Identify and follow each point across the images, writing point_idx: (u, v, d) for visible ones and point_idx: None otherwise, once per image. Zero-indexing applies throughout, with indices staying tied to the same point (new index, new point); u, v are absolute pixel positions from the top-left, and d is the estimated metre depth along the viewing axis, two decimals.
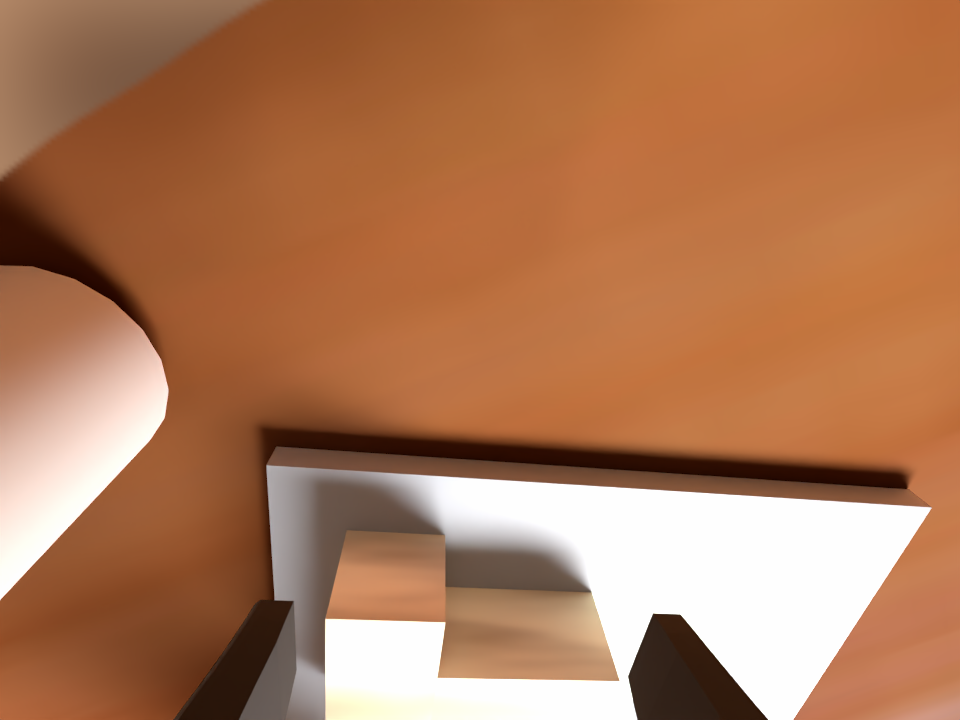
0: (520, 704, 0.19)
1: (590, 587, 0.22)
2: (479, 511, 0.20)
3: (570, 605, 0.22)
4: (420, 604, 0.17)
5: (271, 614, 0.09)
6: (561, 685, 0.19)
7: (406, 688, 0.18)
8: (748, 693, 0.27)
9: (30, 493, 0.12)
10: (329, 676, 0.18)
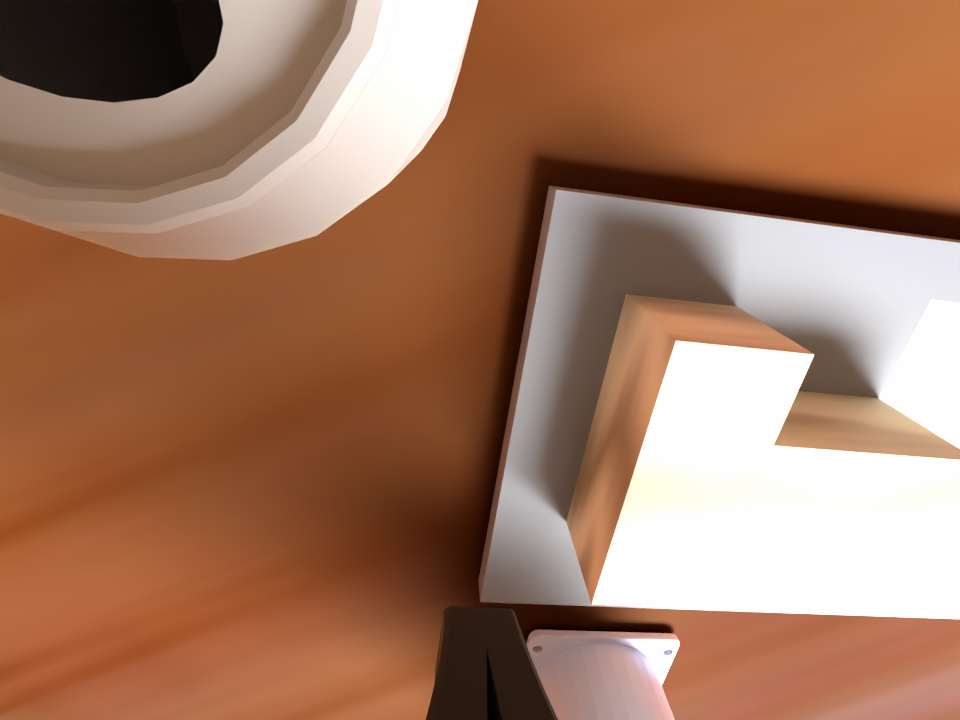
0: (852, 493, 0.16)
1: (878, 390, 0.19)
2: (784, 272, 0.17)
3: (865, 405, 0.18)
4: (770, 341, 0.14)
5: (468, 620, 0.09)
6: (911, 463, 0.15)
7: (732, 459, 0.15)
8: None
9: None
10: (650, 436, 0.14)
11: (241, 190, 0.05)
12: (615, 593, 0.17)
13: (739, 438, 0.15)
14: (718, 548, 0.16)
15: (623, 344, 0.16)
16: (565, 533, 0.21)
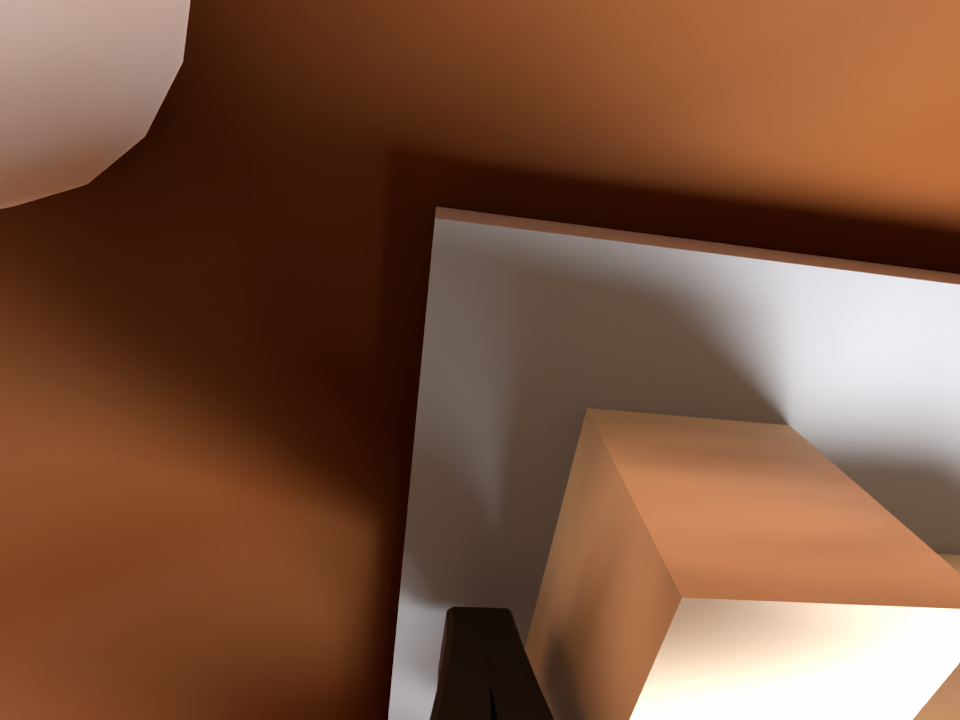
0: None
1: None
2: (877, 368, 0.09)
3: None
4: (888, 561, 0.06)
5: (470, 620, 0.09)
6: None
7: None
8: None
9: None
10: None
11: None
12: None
13: None
14: None
15: (581, 504, 0.09)
16: None
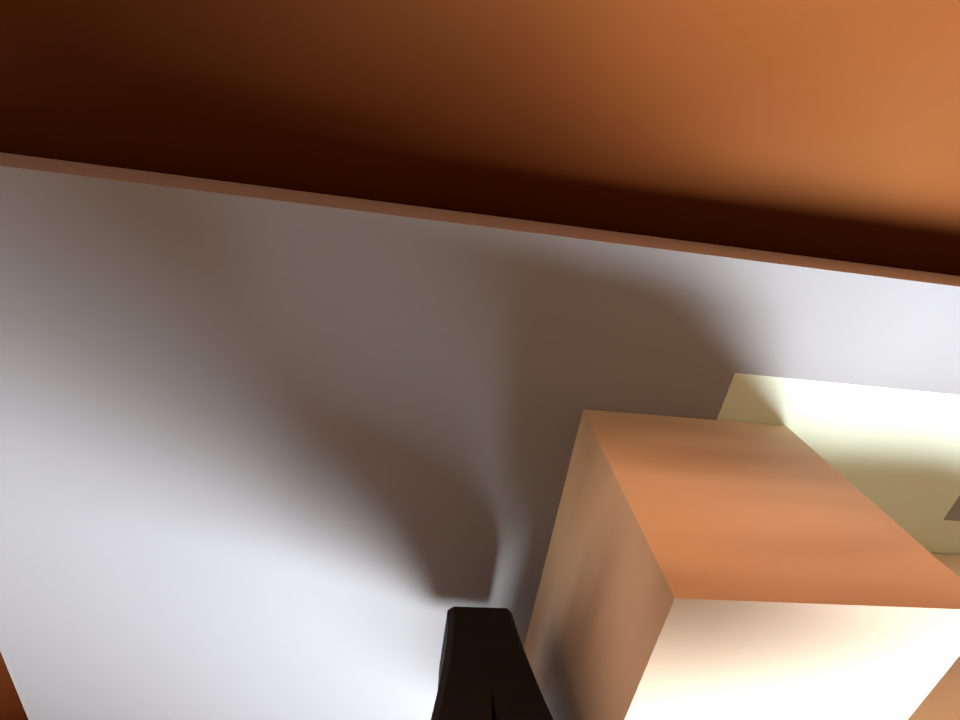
0: None
1: None
2: (414, 322, 0.08)
3: None
4: (883, 562, 0.06)
5: (471, 620, 0.09)
6: None
7: None
8: None
9: None
10: None
11: None
12: None
13: None
14: None
15: (577, 505, 0.09)
16: None
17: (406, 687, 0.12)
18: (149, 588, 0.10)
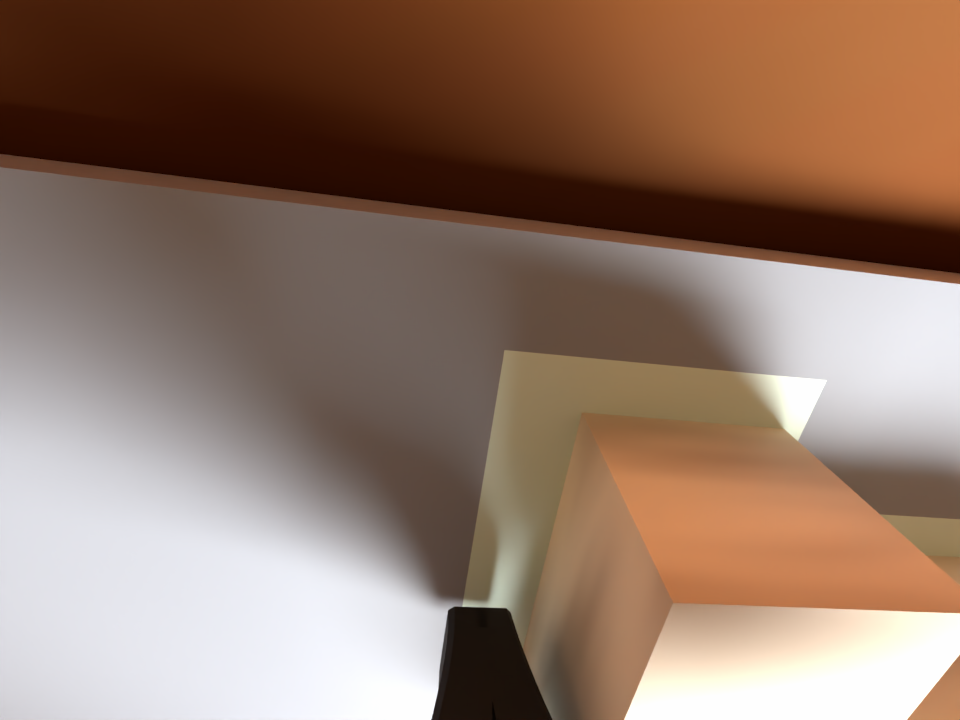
0: None
1: (468, 515, 0.10)
2: (139, 295, 0.08)
3: None
4: (880, 566, 0.06)
5: (472, 620, 0.09)
6: None
7: None
8: None
9: None
10: None
11: None
12: None
13: None
14: None
15: (576, 508, 0.09)
16: None
17: (228, 684, 0.12)
18: None
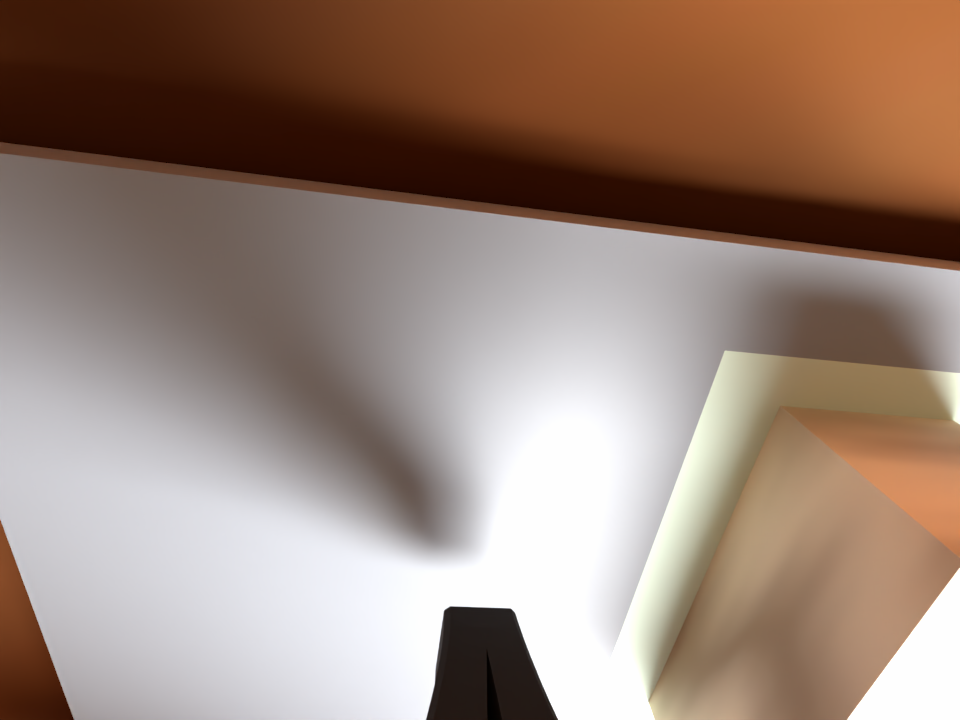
0: None
1: (662, 498, 0.11)
2: (425, 303, 0.09)
3: None
4: None
5: (467, 621, 0.09)
6: None
7: None
8: None
9: None
10: (869, 700, 0.08)
11: None
12: None
13: None
14: None
15: (778, 491, 0.10)
16: (195, 709, 0.13)
17: (417, 654, 0.13)
18: (176, 557, 0.11)
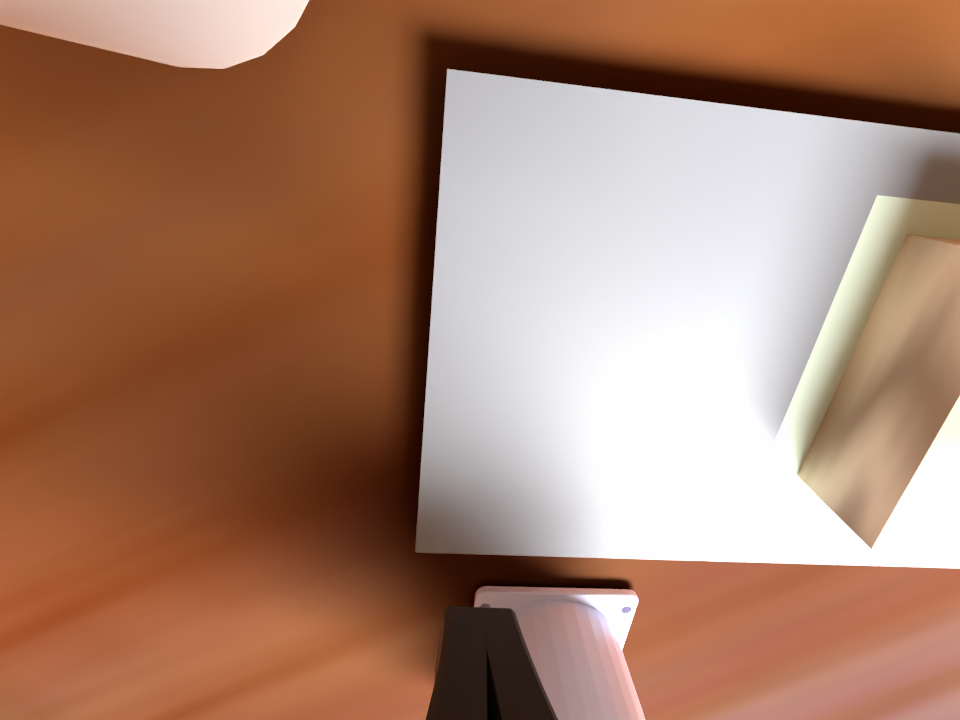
0: None
1: (827, 302, 0.17)
2: (710, 164, 0.15)
3: None
4: None
5: (467, 621, 0.09)
6: None
7: None
8: None
9: None
10: None
11: None
12: (898, 537, 0.17)
13: None
14: None
15: (908, 284, 0.16)
16: (499, 473, 0.20)
17: (652, 428, 0.19)
18: (523, 344, 0.17)
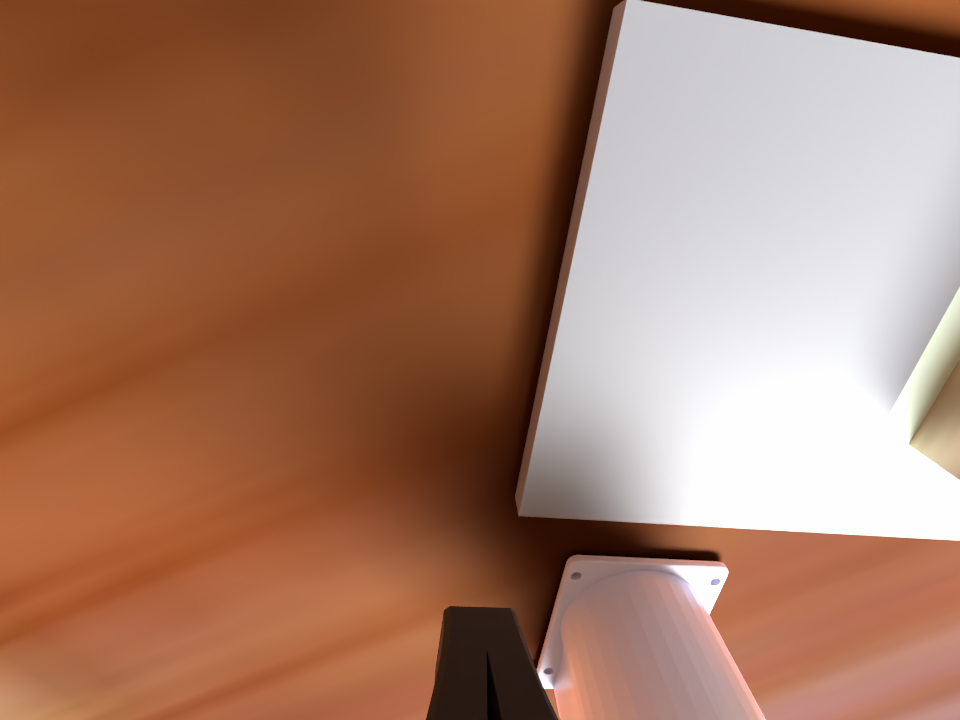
0: None
1: None
2: (875, 112, 0.15)
3: None
4: None
5: (467, 620, 0.09)
6: None
7: None
8: None
9: None
10: None
11: None
12: None
13: None
14: None
15: None
16: (615, 434, 0.19)
17: (774, 390, 0.19)
18: (660, 298, 0.17)
